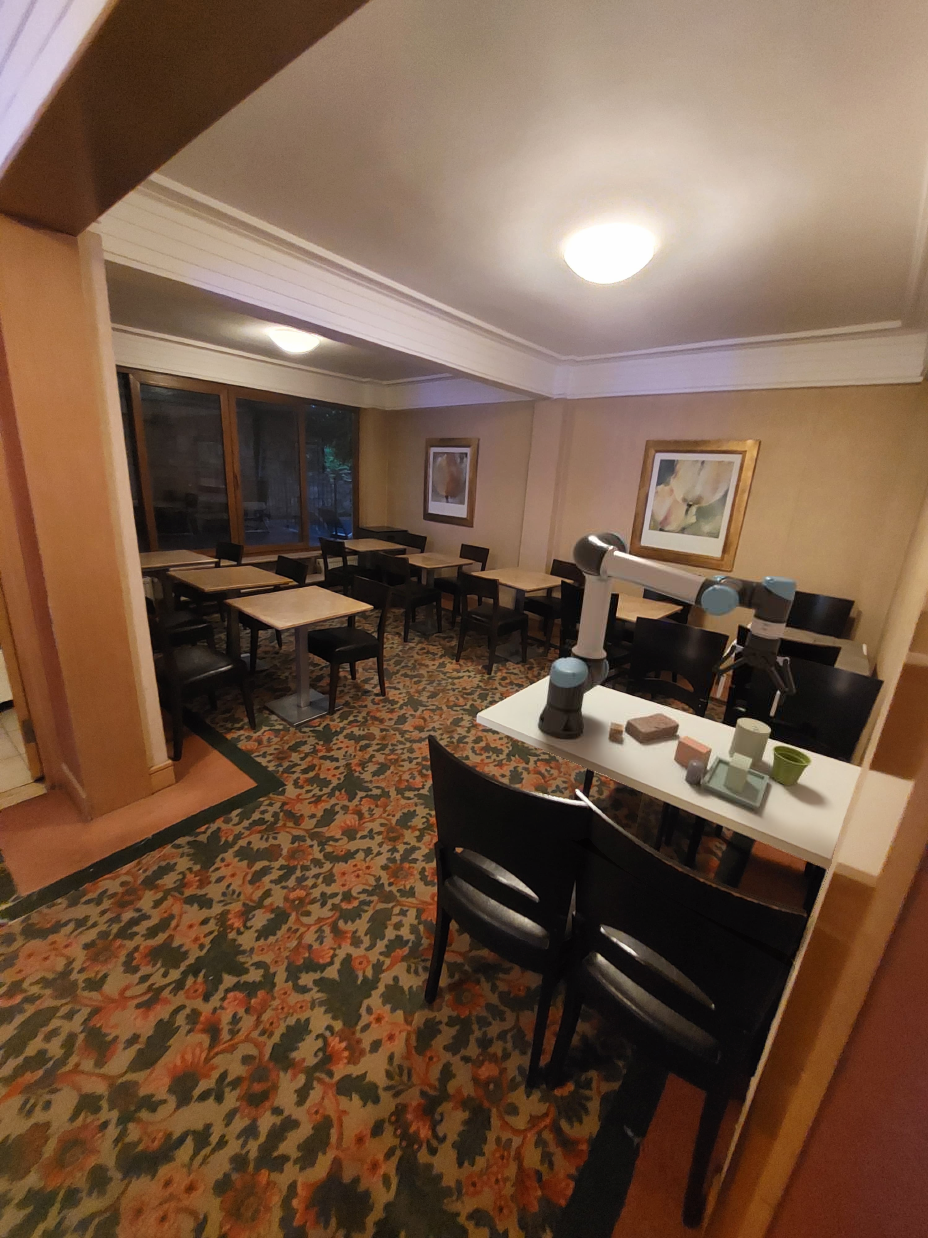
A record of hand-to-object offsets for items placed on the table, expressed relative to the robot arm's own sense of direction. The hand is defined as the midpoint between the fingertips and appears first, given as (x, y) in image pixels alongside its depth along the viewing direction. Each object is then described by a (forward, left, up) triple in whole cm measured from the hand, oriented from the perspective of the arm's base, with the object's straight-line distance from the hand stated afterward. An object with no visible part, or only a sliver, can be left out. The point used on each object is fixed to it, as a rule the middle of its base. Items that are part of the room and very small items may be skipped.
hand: (744, 704), depth 131 cm
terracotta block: (-9, -3, -23) cm, 25 cm away
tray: (+3, -5, -23) cm, 23 cm away
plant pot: (+14, +9, -23) cm, 28 cm away
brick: (-24, +7, -23) cm, 35 cm away
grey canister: (-6, -12, -23) cm, 26 cm away
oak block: (-32, -5, -23) cm, 40 cm away
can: (+3, +14, -23) cm, 27 cm away
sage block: (+3, -5, -22) cm, 22 cm away
